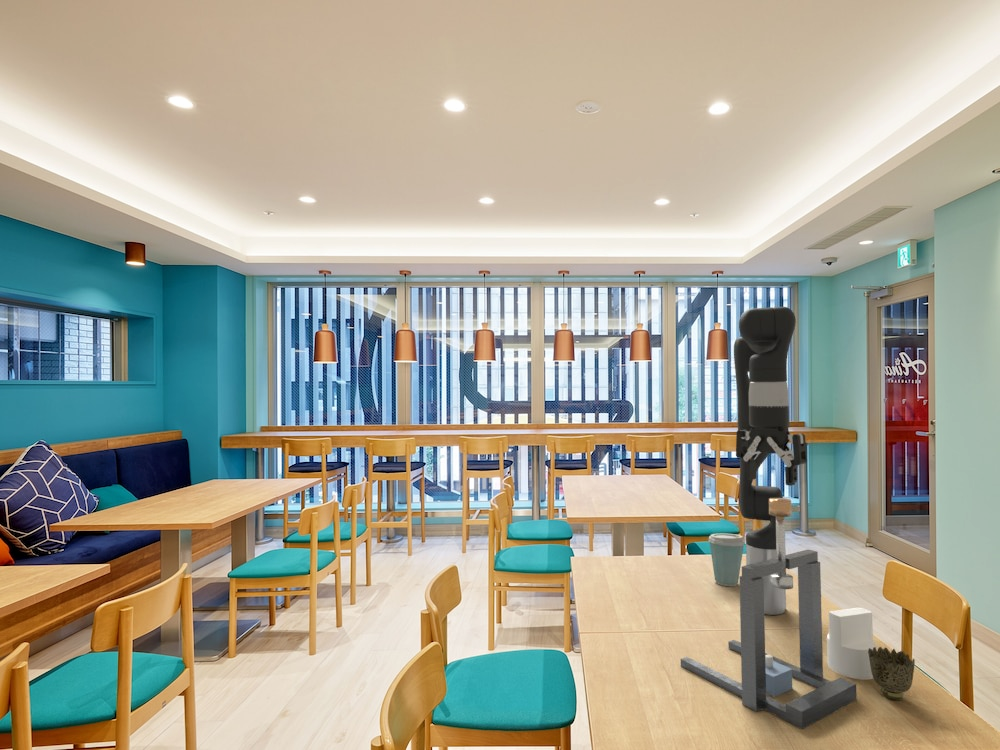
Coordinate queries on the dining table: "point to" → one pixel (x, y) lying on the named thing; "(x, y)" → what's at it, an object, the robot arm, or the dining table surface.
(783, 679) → the housing block
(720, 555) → the disposable coffee cup
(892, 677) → the cup
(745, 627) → the press frame
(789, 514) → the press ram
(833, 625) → the base with upright slab
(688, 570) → the dining table surface
